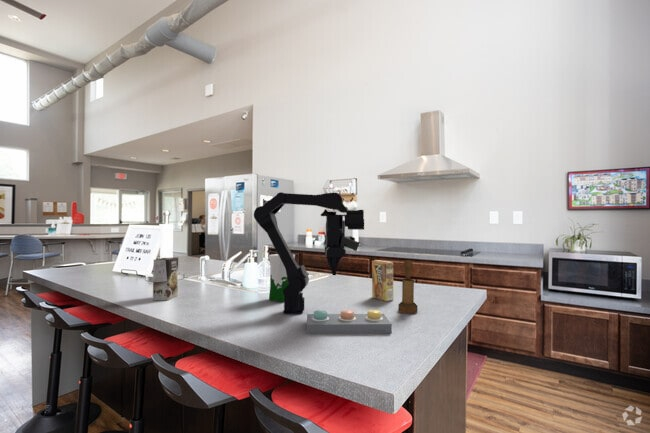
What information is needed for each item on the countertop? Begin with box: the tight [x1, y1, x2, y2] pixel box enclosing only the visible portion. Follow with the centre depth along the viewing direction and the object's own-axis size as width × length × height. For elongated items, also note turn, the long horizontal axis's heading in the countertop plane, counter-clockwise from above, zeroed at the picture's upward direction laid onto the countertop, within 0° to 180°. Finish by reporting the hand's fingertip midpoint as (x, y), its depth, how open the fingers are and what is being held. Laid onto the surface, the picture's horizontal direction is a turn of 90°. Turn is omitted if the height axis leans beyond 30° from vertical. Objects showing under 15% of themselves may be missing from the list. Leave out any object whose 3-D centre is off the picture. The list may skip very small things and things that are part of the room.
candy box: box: [371, 259, 395, 302], centre depth 141 cm, size 9×4×15 cm, turn 33°
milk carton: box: [268, 249, 296, 303], centre depth 139 cm, size 9×9×20 cm
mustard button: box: [366, 309, 382, 319], centre depth 103 cm, size 4×4×2 cm
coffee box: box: [152, 257, 179, 301], centre depth 141 cm, size 9×6×16 cm
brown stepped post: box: [397, 259, 418, 315], centre depth 122 cm, size 7×6×18 cm
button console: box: [305, 313, 393, 334], centre depth 103 cm, size 24×11×3 cm, turn 92°
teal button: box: [313, 309, 328, 319], centre depth 103 cm, size 4×4×2 cm
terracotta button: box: [340, 309, 355, 319], centre depth 103 cm, size 4×4×2 cm
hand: (334, 275), depth 119 cm, fingers closed
